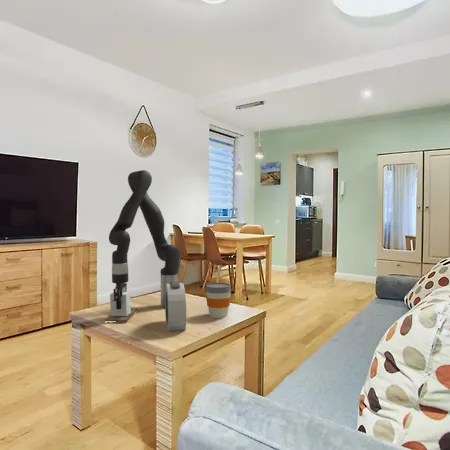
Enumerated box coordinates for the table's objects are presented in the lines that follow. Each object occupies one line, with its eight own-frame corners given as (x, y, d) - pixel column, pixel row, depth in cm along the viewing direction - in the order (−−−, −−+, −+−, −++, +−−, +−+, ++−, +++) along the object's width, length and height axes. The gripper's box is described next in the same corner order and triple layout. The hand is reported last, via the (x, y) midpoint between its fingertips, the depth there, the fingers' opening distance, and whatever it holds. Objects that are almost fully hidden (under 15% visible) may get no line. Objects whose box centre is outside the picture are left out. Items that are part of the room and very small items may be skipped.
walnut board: (137, 311, 183) (137, 308, 183) (126, 322, 164) (126, 319, 164) (117, 311, 183) (117, 308, 183) (104, 323, 164) (104, 319, 164)
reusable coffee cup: (228, 319, 168) (228, 288, 167) (202, 318, 170) (202, 287, 170) (233, 312, 180) (233, 282, 180) (209, 311, 183) (209, 282, 182)
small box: (130, 313, 174) (130, 291, 173) (126, 316, 168) (126, 294, 168) (115, 312, 174) (114, 291, 174) (110, 316, 169) (109, 294, 168)
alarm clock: (165, 319, 169) (164, 278, 168) (181, 318, 170) (180, 277, 170) (168, 334, 148) (168, 287, 147) (186, 332, 150) (186, 286, 149)
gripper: (123, 274, 163) (124, 311, 164) (131, 269, 178) (132, 303, 178) (107, 275, 163) (108, 311, 164) (116, 270, 178) (117, 303, 178)
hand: (120, 307), depth 171 cm, fingers closed on small box, 6 cm apart
